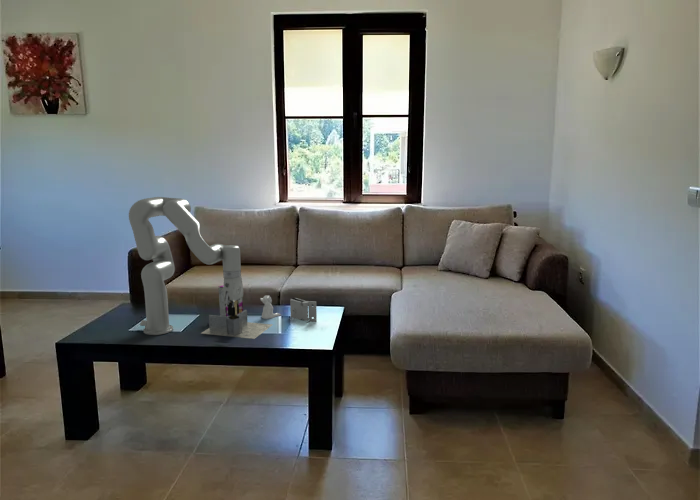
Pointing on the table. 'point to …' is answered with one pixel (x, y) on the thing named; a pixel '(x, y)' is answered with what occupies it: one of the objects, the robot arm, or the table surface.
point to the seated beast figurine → (268, 308)
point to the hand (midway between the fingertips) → (233, 314)
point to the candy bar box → (223, 306)
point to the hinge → (303, 310)
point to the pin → (235, 311)
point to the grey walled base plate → (235, 326)
